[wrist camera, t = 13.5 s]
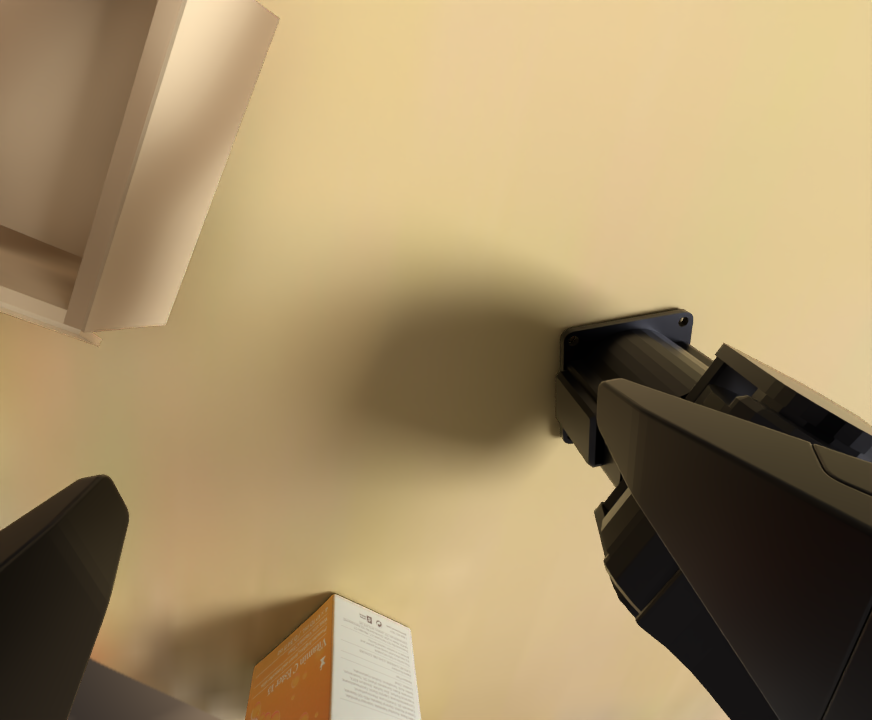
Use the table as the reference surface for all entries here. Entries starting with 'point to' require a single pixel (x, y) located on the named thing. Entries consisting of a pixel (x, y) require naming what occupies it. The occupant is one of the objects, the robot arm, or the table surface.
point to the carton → (115, 150)
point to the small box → (338, 669)
